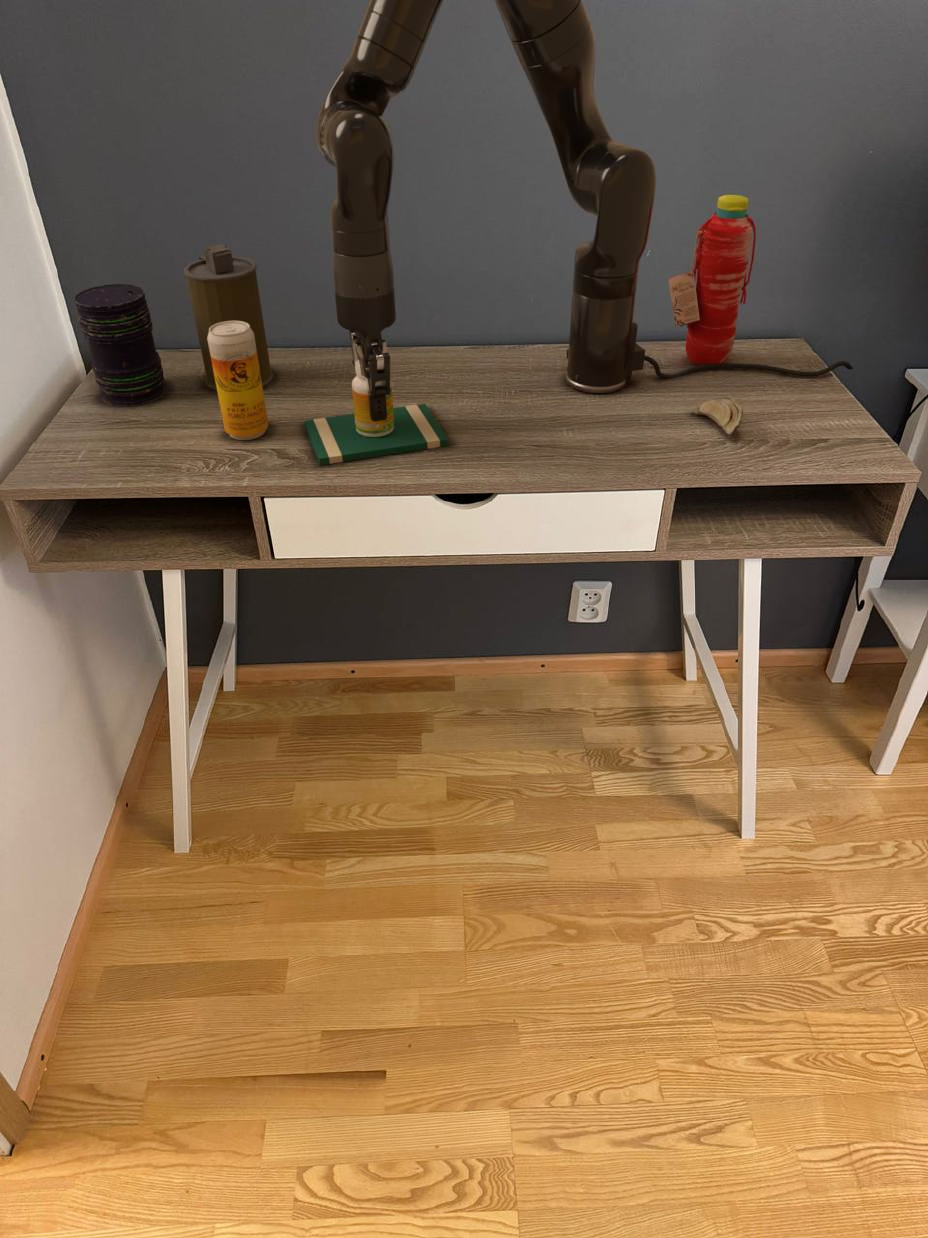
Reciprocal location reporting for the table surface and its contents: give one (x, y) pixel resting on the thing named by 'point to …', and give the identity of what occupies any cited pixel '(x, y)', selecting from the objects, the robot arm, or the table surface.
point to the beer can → (238, 379)
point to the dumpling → (722, 413)
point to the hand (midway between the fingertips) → (373, 409)
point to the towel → (344, 443)
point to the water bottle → (715, 282)
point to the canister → (226, 302)
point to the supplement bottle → (363, 412)
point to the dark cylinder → (121, 344)
